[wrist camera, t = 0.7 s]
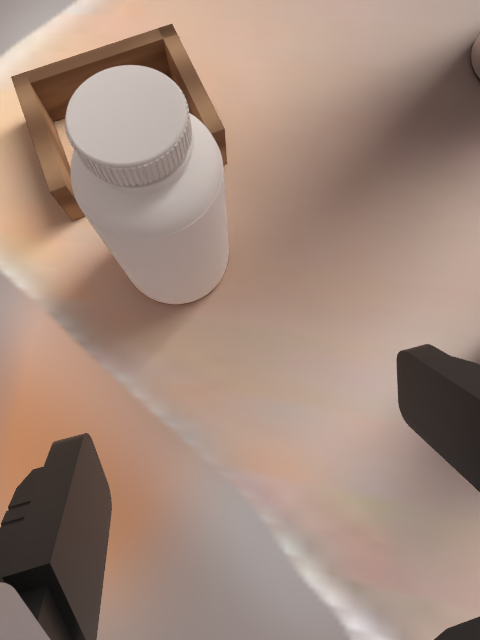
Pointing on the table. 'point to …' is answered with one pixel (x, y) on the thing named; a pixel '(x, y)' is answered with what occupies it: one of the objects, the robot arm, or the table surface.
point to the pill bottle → (150, 181)
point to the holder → (67, 75)
